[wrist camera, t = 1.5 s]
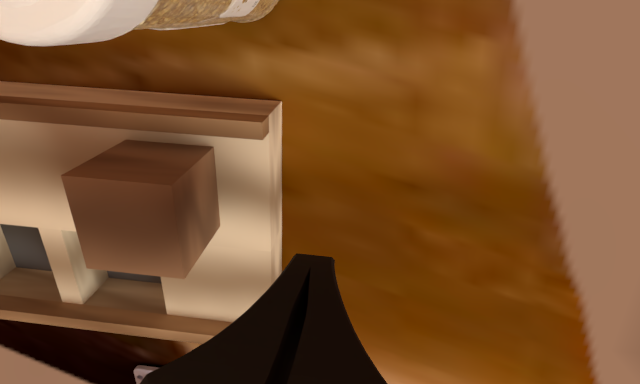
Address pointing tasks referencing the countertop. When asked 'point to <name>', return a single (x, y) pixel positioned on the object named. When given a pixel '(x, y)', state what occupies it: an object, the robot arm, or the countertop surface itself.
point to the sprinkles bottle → (115, 18)
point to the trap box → (60, 233)
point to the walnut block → (145, 207)
